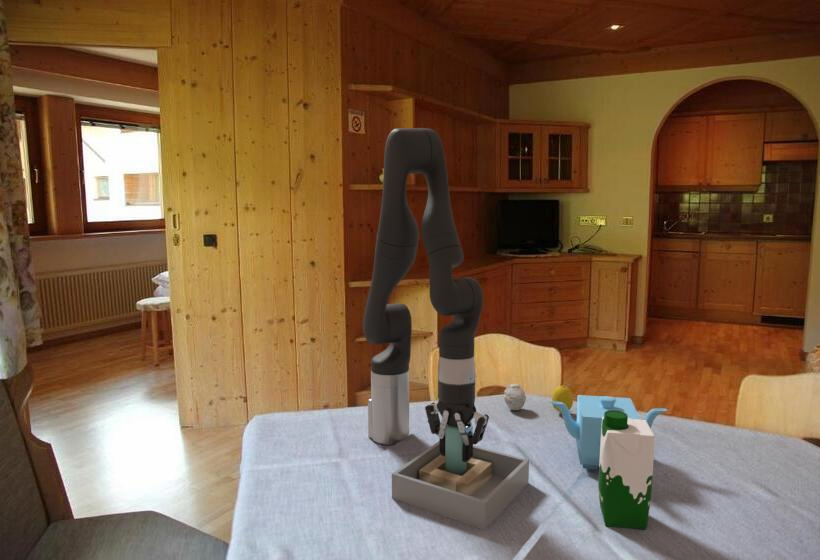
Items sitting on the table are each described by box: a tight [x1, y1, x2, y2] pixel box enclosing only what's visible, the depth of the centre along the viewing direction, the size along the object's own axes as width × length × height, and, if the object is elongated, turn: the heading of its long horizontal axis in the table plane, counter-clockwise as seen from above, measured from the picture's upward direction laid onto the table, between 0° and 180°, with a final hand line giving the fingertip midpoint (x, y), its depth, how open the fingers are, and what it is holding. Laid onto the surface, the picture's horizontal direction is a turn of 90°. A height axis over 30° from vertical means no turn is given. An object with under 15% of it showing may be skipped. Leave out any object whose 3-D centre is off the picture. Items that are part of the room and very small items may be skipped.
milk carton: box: [597, 410, 655, 530], centre depth 109 cm, size 9×9×20 cm
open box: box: [391, 440, 530, 531], centre depth 119 cm, size 20×20×6 cm
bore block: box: [419, 455, 492, 496], centre depth 123 cm, size 11×11×3 cm
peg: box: [445, 425, 467, 476], centre depth 122 cm, size 4×4×10 cm
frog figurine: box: [503, 383, 527, 411], centre depth 164 cm, size 6×7×7 cm
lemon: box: [551, 384, 574, 415], centre depth 161 cm, size 6×6×8 cm
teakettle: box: [549, 394, 669, 470], centre depth 132 cm, size 19×19×15 cm
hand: (456, 457), depth 122 cm, fingers closed on peg, 4 cm apart
